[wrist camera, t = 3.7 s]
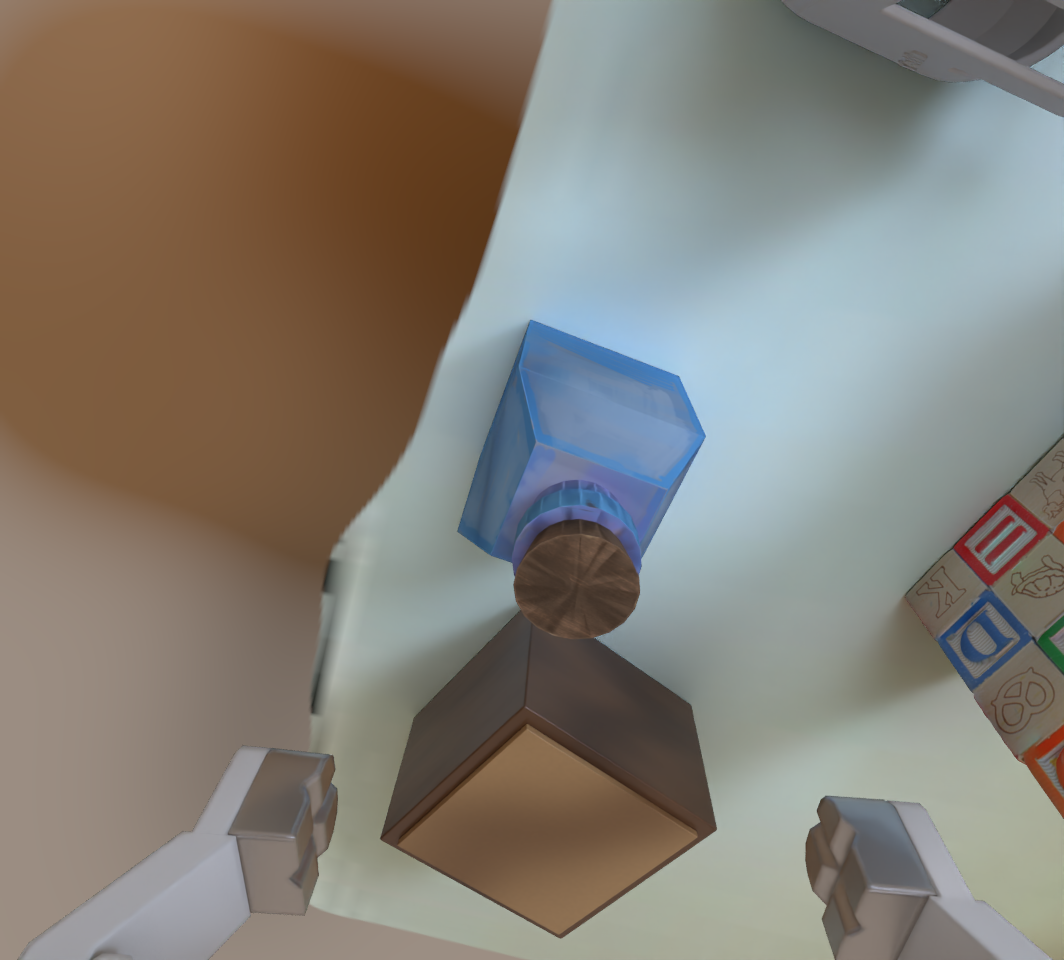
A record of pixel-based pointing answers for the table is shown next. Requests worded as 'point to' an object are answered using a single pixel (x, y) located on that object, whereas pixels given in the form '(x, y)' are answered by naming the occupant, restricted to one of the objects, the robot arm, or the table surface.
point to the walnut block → (550, 778)
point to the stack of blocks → (1010, 618)
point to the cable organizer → (956, 40)
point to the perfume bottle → (579, 478)
